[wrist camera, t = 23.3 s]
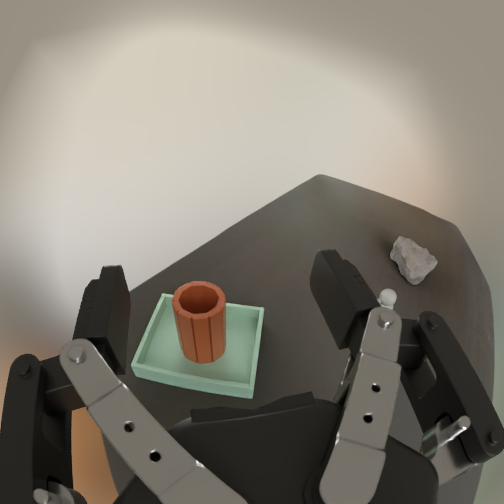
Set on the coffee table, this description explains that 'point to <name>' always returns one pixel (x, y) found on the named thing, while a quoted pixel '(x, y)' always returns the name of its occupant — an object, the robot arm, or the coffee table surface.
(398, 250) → the stone
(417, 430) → the coffee table surface
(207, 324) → the ring collar
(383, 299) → the chess piece
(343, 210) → the coffee table surface
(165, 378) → the tray
